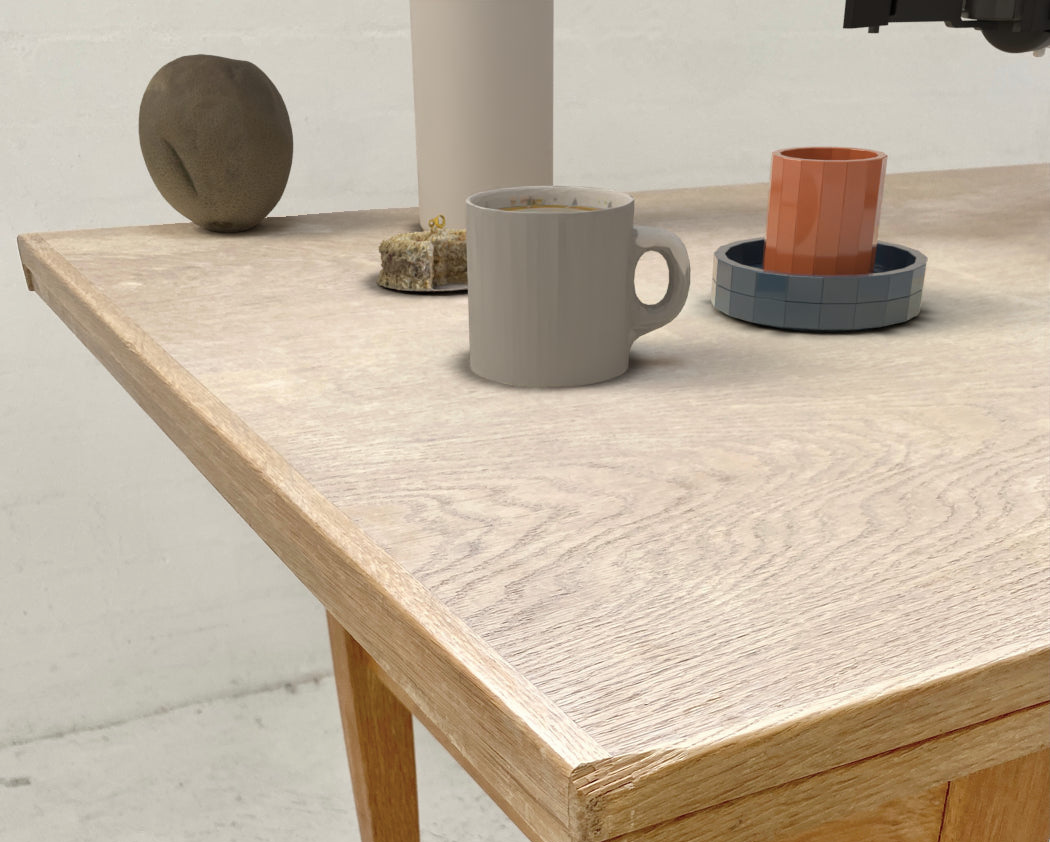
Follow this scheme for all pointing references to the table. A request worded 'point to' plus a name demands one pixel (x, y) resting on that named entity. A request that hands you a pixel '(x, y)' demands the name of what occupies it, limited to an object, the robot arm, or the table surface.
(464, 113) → the cylinder vase
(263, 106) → the brown rounded stone
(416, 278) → the cake
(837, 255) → the tumbler
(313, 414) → the table surface
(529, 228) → the coffee mug
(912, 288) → the bowl
